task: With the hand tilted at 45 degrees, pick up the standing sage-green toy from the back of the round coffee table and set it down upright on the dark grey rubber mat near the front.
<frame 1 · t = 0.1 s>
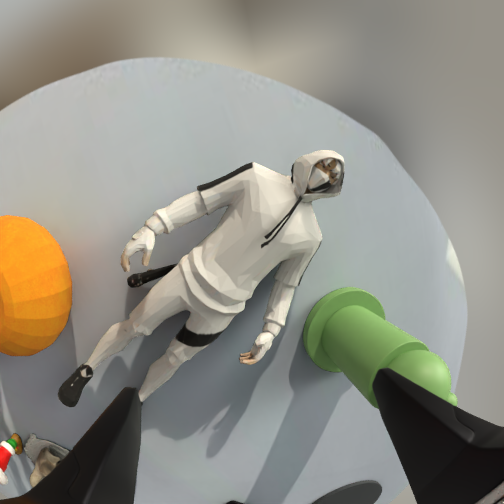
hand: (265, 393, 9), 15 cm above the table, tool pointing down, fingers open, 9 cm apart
santa figurine: (5, 428, 22), on the table
fruit: (34, 277, 22), on the table
toy: (343, 329, 27), on the table
skull: (60, 463, 24), on the table
figurine: (202, 287, 24), on the table
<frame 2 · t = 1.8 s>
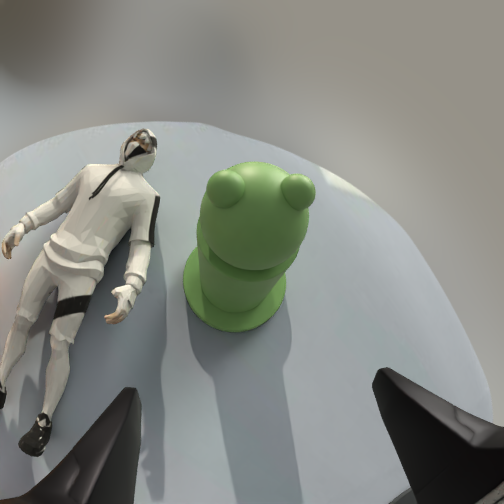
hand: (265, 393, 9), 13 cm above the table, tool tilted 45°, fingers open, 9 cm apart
toy: (234, 282, 25), on the table
figurine: (79, 283, 23), on the table
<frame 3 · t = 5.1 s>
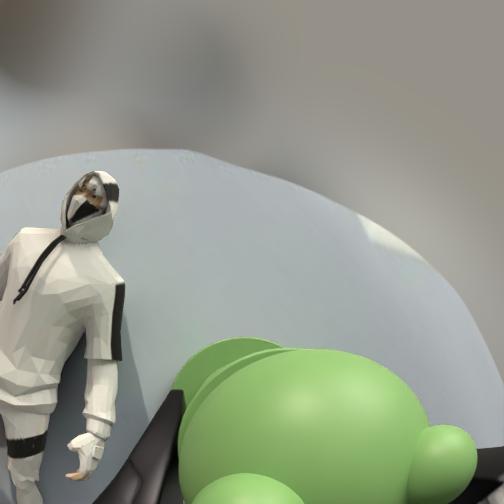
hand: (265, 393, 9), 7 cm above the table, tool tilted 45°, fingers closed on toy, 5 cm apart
toy: (244, 408, 15), on the table, touching gripper
figurine: (34, 396, 13), on the table
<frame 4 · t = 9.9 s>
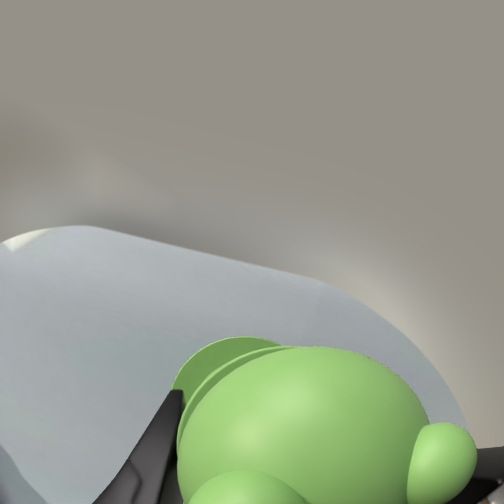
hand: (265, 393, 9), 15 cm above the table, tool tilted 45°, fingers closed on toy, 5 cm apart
toy: (243, 407, 15), point 7 cm above the table, touching gripper
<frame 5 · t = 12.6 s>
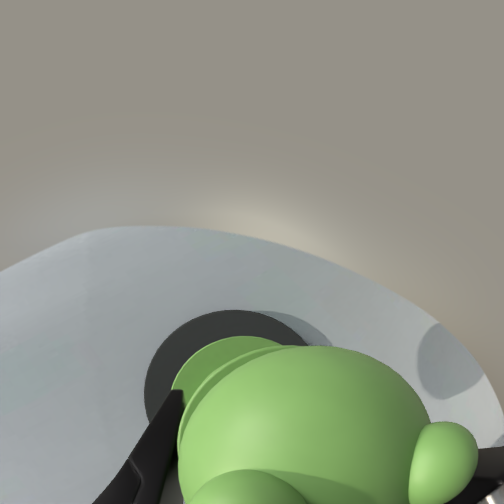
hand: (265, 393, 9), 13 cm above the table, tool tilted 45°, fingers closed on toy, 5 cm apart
toy: (244, 407, 15), point 6 cm above the table, touching gripper
mat: (236, 398, 20), on the table
when the fingers open (8 cm above the table, at t = 14.9 s): toy stays where it is, resting on mat.
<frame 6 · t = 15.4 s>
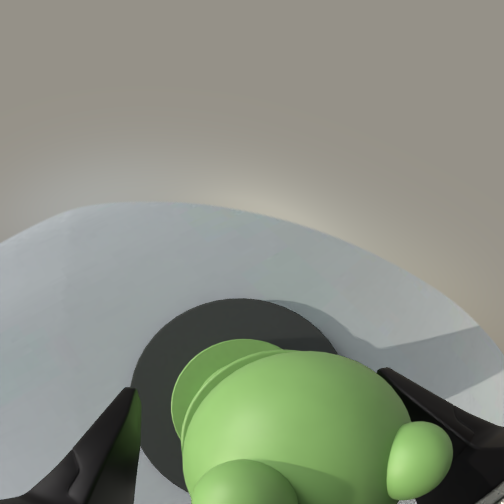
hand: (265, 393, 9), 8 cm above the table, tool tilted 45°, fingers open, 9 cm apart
toy: (243, 407, 16), point 1 cm above the table, touching mat
mat: (242, 407, 16), on the table
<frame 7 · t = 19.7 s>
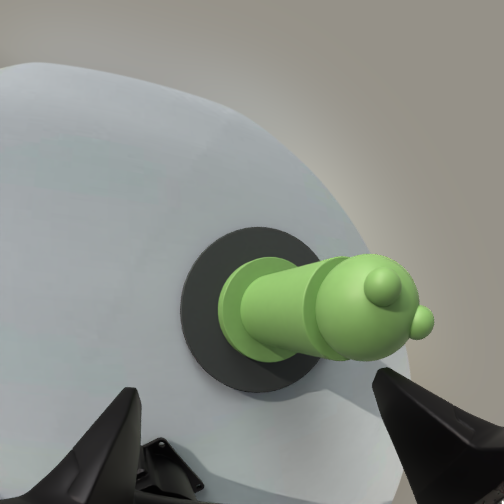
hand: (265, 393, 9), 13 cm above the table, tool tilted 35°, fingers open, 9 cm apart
toy: (267, 309, 24), point 1 cm above the table, touching mat
mat: (264, 310, 24), on the table
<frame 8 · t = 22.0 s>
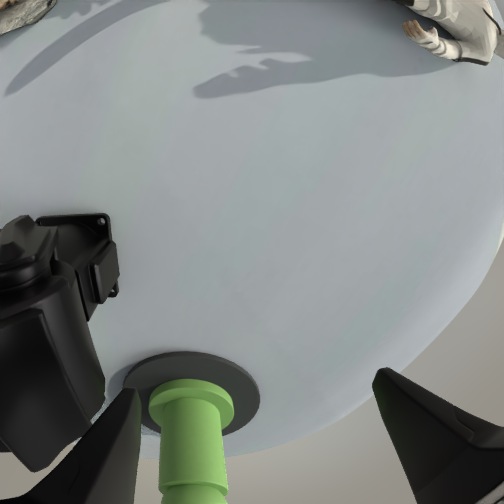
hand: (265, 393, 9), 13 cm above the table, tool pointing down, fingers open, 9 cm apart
toy: (191, 405, 26), point 1 cm above the table, touching mat
mat: (190, 401, 27), on the table
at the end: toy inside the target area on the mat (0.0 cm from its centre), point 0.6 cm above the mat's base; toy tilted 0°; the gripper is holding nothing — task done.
